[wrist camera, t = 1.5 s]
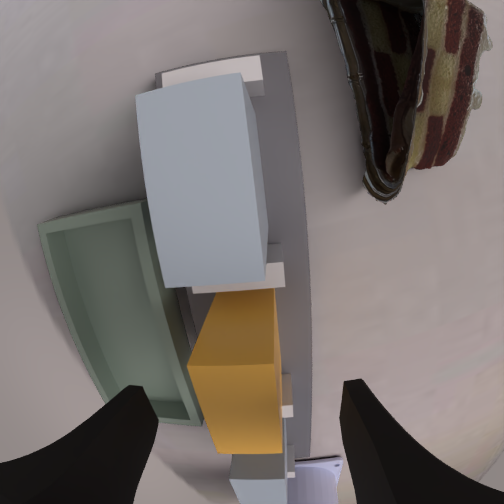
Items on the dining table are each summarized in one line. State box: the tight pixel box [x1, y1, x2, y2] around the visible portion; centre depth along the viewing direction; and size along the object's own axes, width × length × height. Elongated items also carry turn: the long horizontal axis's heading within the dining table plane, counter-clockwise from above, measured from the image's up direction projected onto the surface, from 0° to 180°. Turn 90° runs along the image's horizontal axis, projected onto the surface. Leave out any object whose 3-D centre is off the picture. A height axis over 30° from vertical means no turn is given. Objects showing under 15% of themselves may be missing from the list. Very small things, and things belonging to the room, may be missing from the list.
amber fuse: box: [187, 288, 282, 454], centre depth 12 cm, size 5×3×6 cm, turn 7°
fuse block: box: [155, 51, 312, 478], centre depth 14 cm, size 26×6×4 cm, turn 7°
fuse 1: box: [135, 72, 268, 288], centre depth 9 cm, size 5×3×6 cm, turn 7°
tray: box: [37, 199, 204, 426], centre depth 15 cm, size 14×7×2 cm, turn 7°
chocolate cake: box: [320, 0, 492, 204], centre depth 9 cm, size 10×7×12 cm
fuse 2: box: [229, 418, 287, 504], centre depth 14 cm, size 5×3×6 cm, turn 7°
